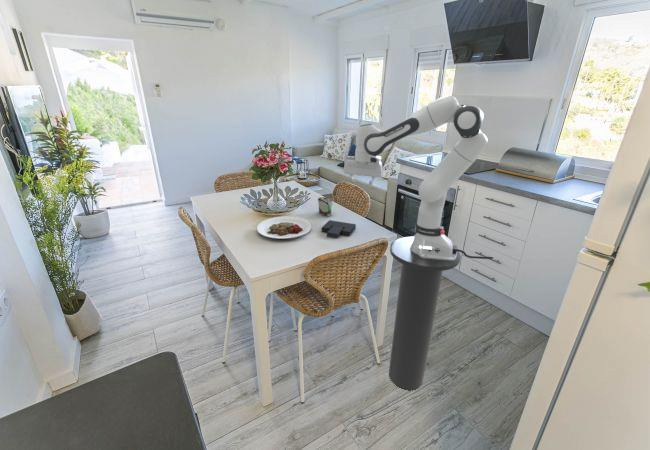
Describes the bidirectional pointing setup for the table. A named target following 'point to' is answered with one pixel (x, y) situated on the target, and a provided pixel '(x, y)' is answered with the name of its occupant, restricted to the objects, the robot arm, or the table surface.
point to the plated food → (284, 227)
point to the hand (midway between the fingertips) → (362, 183)
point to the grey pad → (335, 232)
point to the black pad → (347, 227)
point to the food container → (325, 206)
